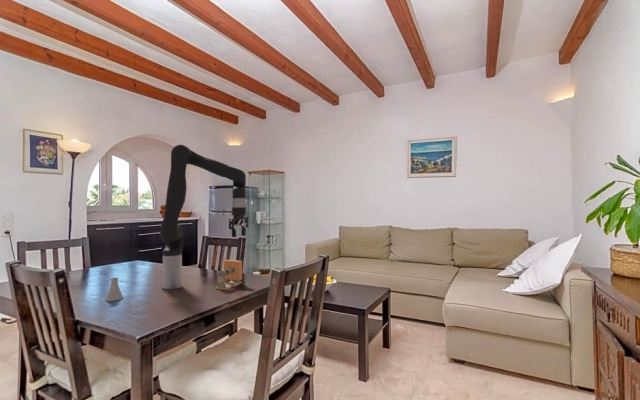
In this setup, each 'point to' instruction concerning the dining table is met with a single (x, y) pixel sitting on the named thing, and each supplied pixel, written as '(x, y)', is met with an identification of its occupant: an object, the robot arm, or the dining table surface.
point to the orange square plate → (237, 269)
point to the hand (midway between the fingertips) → (238, 236)
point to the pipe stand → (222, 280)
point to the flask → (114, 291)
